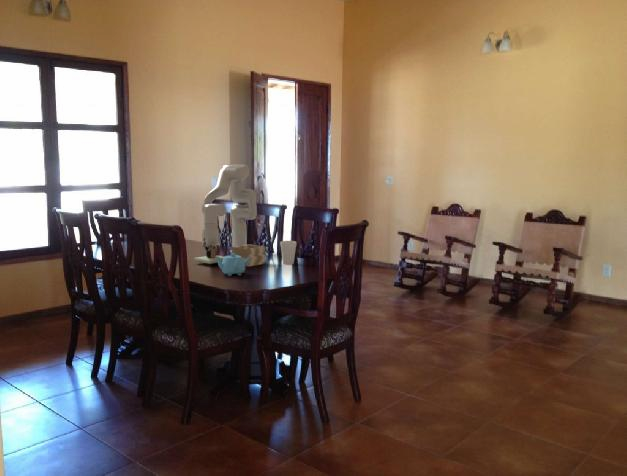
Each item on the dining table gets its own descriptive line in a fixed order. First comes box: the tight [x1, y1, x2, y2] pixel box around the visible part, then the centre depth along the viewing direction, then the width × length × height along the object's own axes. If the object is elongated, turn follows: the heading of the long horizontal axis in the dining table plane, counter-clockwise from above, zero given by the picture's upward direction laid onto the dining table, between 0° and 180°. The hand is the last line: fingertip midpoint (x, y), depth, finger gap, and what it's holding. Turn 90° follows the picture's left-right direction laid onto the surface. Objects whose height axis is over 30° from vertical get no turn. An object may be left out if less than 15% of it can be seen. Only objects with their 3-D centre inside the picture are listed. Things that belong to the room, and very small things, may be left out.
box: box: [231, 243, 267, 267], centre depth 321 cm, size 14×14×10 cm
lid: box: [193, 247, 225, 265], centre depth 319 cm, size 15×15×8 cm
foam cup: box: [279, 240, 297, 265], centre depth 322 cm, size 10×9×13 cm
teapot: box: [215, 253, 251, 277], centre depth 289 cm, size 15×14×11 cm
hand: (211, 256), depth 319 cm, fingers closed on lid, 3 cm apart
